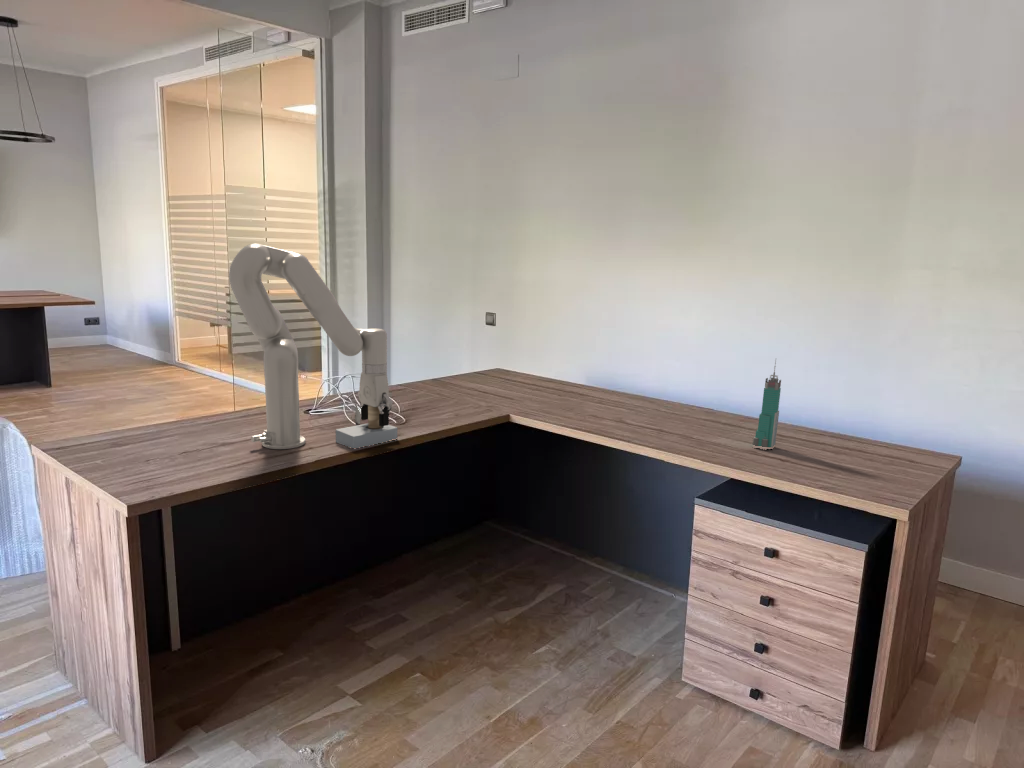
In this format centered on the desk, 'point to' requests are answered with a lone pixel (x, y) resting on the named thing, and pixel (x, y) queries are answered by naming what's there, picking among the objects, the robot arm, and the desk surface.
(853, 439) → the desk surface
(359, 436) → the board
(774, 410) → the building
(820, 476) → the desk surface
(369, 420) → the peg
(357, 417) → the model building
